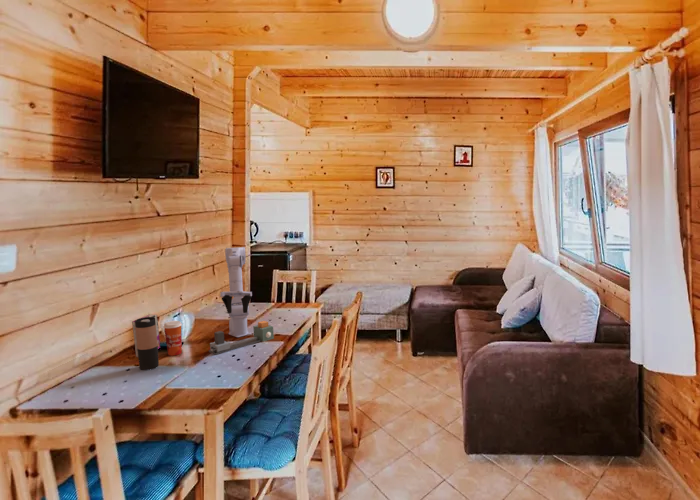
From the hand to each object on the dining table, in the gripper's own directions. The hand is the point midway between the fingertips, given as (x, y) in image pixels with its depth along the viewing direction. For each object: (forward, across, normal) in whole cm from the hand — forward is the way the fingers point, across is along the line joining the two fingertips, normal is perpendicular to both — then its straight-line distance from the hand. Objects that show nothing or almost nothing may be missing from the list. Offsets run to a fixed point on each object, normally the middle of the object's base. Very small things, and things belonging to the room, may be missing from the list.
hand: (237, 312), depth 189 cm
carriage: (+14, -2, +13) cm, 19 cm away
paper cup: (+14, -17, +27) cm, 35 cm away
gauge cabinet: (+11, +21, +13) cm, 27 cm away
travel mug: (+19, -30, +20) cm, 41 cm away
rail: (+14, +6, +13) cm, 20 cm away
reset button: (+7, +20, +12) cm, 24 cm away
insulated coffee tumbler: (+13, -25, +37) cm, 46 cm away
